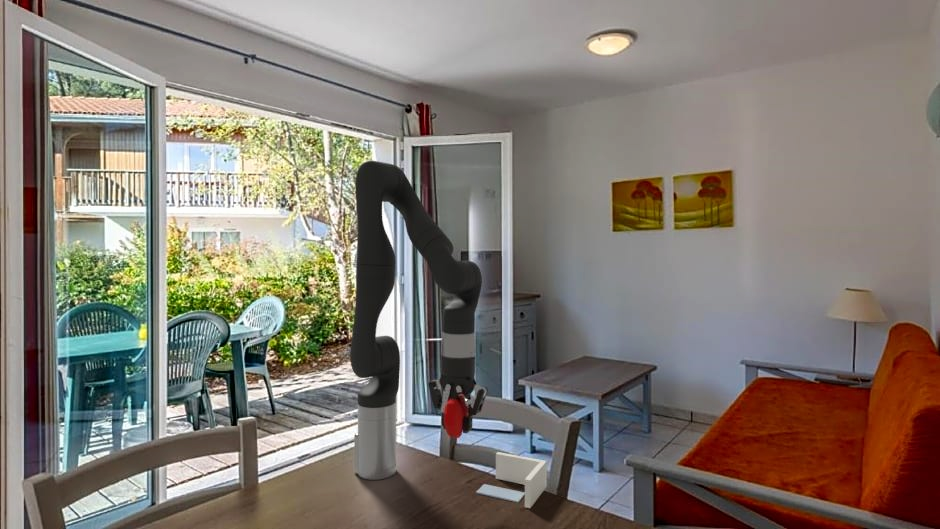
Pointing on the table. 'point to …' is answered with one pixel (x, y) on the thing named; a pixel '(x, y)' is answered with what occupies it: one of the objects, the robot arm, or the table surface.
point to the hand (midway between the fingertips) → (456, 429)
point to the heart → (453, 418)
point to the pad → (501, 493)
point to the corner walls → (523, 474)
